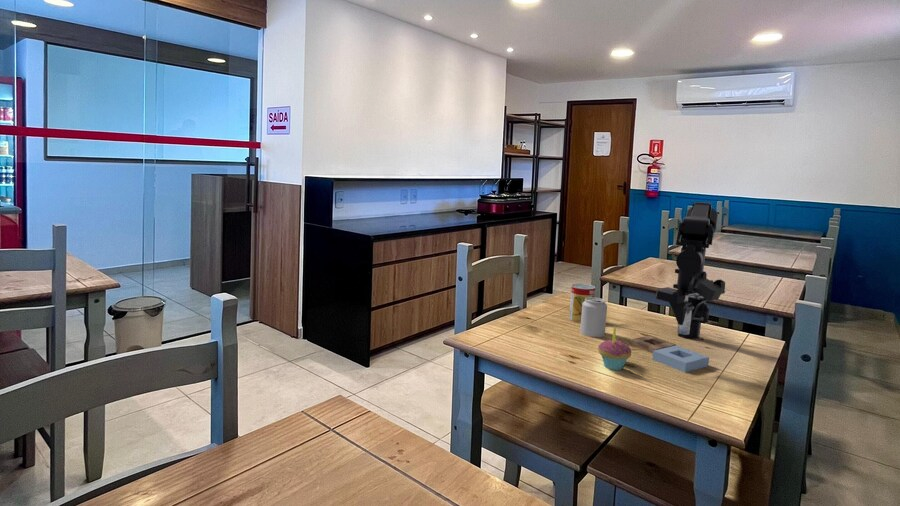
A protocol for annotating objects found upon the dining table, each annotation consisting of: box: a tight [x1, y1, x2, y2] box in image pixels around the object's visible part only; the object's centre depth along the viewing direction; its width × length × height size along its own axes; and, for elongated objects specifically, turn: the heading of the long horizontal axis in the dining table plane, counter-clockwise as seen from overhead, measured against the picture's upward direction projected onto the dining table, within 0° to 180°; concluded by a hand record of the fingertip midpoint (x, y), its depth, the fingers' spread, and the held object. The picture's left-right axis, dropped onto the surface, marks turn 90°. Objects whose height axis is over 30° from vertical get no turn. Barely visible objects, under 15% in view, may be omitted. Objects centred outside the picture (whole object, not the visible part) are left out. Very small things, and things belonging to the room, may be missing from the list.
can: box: [579, 296, 608, 338], centre depth 166 cm, size 8×8×12 cm
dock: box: [652, 344, 710, 373], centre depth 144 cm, size 10×10×4 cm
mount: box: [629, 334, 677, 354], centre depth 156 cm, size 9×9×2 cm
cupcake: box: [597, 324, 632, 371], centre depth 141 cm, size 9×8×12 cm
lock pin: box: [676, 304, 694, 335], centre depth 142 cm, size 4×4×8 cm
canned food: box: [568, 283, 596, 324], centre depth 184 cm, size 8×8×12 cm
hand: (684, 324), depth 142 cm, fingers closed on lock pin, 3 cm apart
